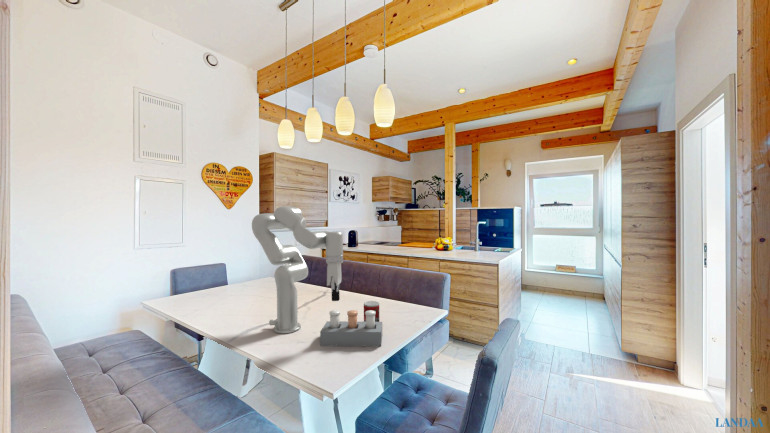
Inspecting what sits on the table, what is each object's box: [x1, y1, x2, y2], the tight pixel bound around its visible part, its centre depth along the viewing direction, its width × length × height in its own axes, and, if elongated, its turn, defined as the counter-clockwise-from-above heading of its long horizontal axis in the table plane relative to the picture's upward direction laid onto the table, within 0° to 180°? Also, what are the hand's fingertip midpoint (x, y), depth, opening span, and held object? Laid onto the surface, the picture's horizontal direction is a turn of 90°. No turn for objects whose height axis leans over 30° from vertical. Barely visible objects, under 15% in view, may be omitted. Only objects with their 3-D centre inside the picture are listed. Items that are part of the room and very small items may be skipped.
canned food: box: [363, 300, 380, 322], centre depth 148 cm, size 8×8×11 cm
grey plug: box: [365, 310, 376, 329], centre depth 130 cm, size 5×5×8 cm
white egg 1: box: [329, 309, 341, 329], centre depth 130 cm, size 5×5×8 cm
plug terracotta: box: [347, 309, 359, 329], centre depth 130 cm, size 5×5×8 cm
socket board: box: [319, 320, 383, 347], centre depth 130 cm, size 26×12×6 cm, turn 88°
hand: (335, 300), depth 130 cm, fingers closed
